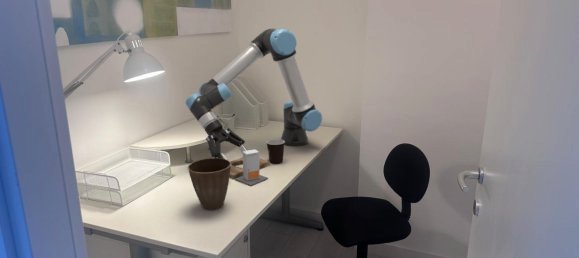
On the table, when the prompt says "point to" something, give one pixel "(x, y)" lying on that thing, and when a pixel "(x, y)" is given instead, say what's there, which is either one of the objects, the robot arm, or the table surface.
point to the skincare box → (251, 164)
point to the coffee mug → (275, 150)
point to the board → (238, 172)
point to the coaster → (251, 182)
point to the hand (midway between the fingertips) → (239, 162)
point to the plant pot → (210, 181)
